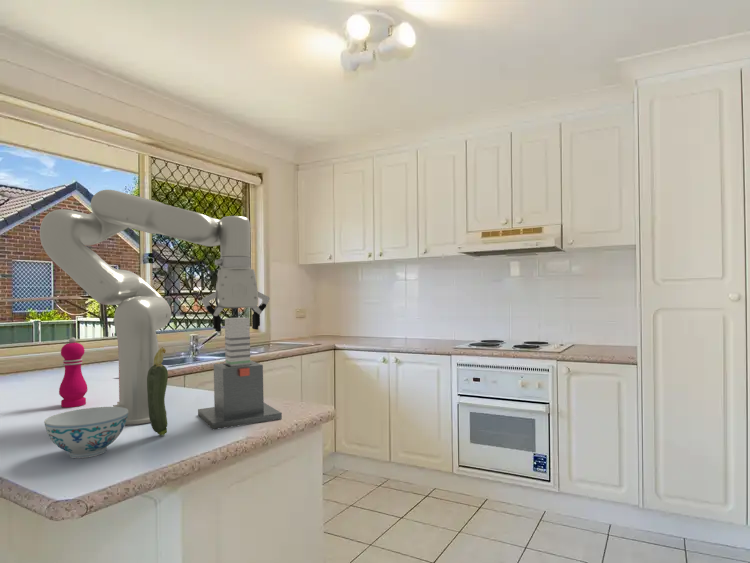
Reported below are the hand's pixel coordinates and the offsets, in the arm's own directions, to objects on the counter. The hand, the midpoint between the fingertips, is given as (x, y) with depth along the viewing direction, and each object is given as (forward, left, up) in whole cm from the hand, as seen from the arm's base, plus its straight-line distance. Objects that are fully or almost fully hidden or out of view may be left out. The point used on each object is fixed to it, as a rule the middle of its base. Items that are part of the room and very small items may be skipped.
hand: (237, 330), depth 131 cm
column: (0, 0, -15) cm, 15 cm away
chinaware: (-34, -11, -23) cm, 42 cm away
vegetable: (-20, -6, -22) cm, 31 cm away
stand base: (0, 0, -22) cm, 22 cm away
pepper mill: (-37, +43, -22) cm, 61 cm away
